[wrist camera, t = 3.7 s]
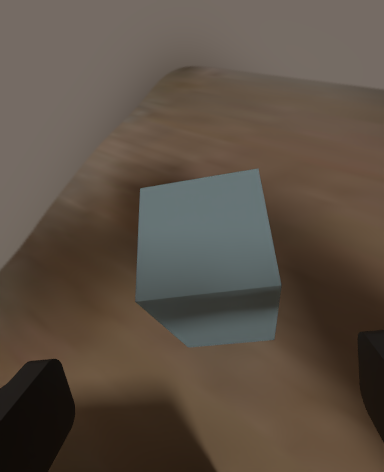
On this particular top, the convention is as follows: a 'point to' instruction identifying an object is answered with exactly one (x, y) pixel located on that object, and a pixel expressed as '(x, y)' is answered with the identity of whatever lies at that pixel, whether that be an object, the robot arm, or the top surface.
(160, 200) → the slate block
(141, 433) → the top surface
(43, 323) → the top surface
